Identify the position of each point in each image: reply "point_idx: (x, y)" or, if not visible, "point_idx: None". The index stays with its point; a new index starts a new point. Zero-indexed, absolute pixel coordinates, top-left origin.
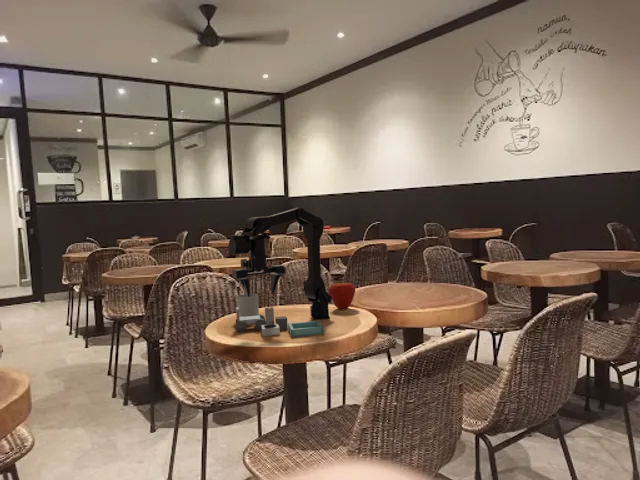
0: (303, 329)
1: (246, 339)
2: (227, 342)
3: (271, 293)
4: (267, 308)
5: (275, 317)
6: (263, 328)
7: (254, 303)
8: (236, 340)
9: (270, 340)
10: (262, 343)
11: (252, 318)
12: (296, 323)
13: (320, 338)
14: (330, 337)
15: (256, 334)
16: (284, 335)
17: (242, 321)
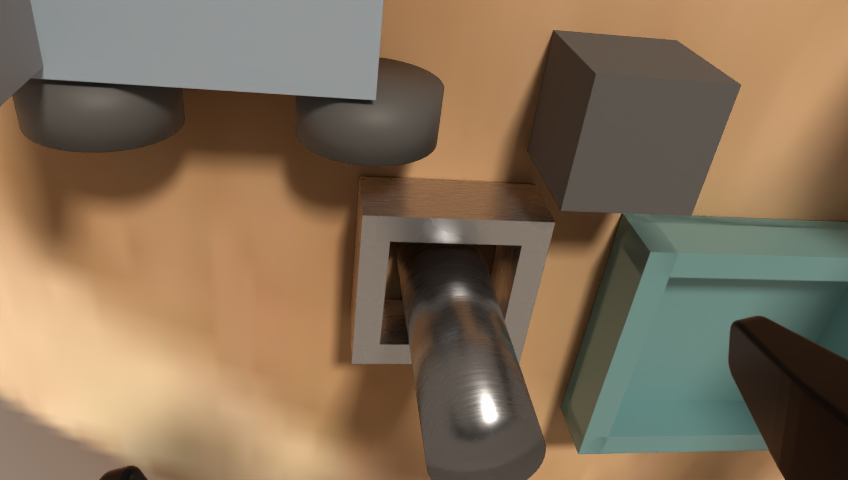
0: (670, 447)
1: (201, 360)
2: (32, 391)
3: (730, 330)
4: (459, 471)
5: (590, 104)
6: (367, 350)
7: None
8: (109, 361)
9: (394, 432)
10: (327, 476)
11: (257, 40)
12: (720, 278)
13: (710, 475)
14: (771, 472)
15: (299, 240)
16: (530, 350)
17: (106, 151)
